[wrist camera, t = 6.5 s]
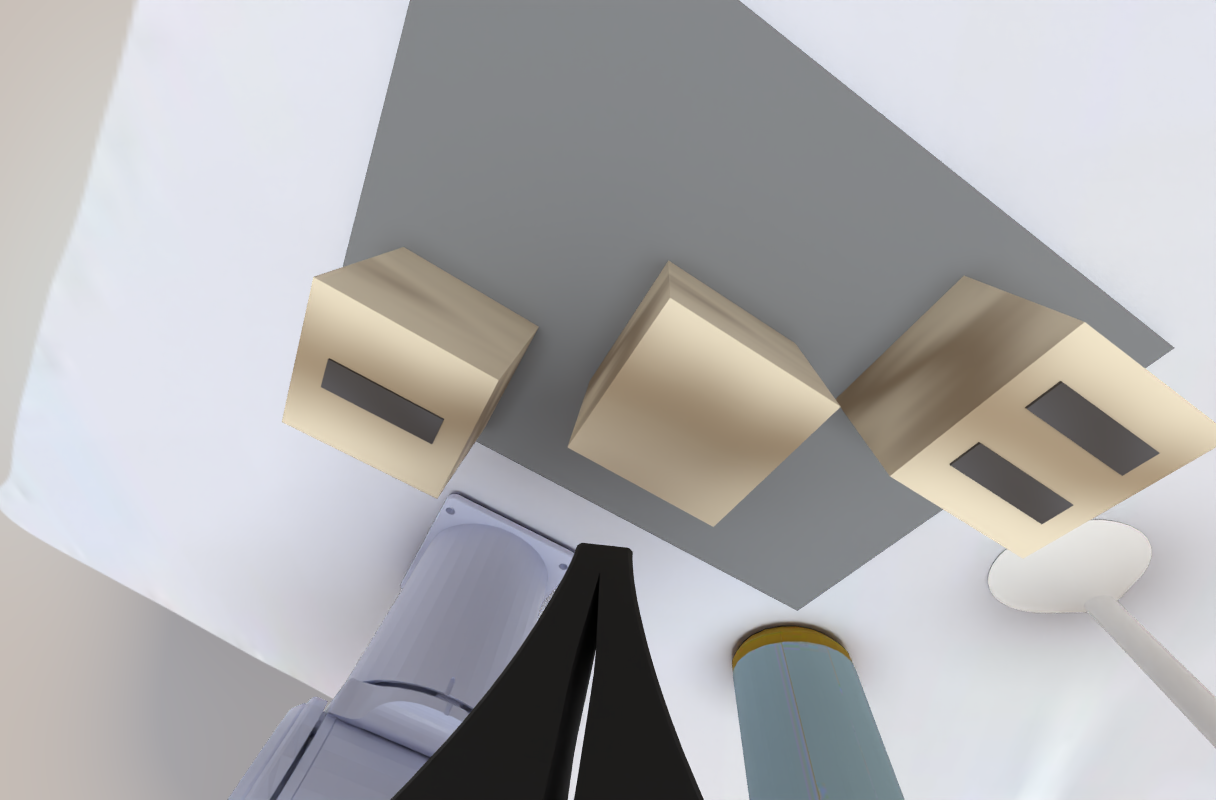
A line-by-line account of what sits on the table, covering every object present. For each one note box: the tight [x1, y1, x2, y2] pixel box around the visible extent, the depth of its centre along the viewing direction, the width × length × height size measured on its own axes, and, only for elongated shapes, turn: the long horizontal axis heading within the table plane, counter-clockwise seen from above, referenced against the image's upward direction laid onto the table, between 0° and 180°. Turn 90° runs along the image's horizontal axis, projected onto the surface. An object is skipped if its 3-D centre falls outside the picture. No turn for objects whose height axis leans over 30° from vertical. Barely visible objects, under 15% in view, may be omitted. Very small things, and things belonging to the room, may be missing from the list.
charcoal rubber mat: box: [343, 0, 1174, 611], centre depth 18 cm, size 19×28×1 cm
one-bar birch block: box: [282, 247, 539, 498], centre depth 17 cm, size 6×6×5 cm
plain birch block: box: [568, 260, 841, 527], centre depth 16 cm, size 6×6×5 cm
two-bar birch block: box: [836, 276, 1216, 559], centre depth 15 cm, size 6×6×5 cm
